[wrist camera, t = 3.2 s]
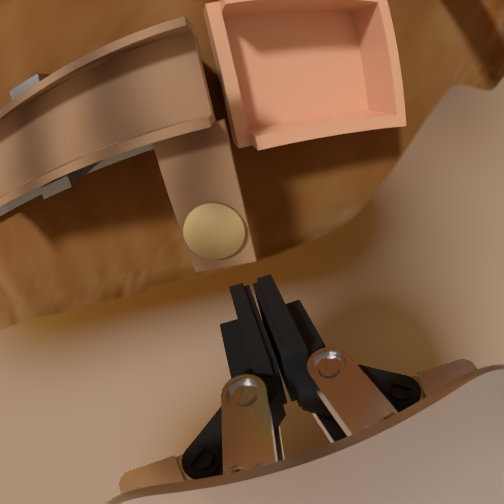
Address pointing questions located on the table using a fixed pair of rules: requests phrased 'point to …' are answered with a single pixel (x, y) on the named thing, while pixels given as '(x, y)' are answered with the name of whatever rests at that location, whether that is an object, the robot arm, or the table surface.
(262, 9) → the dish
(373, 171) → the table surface
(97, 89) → the lever
